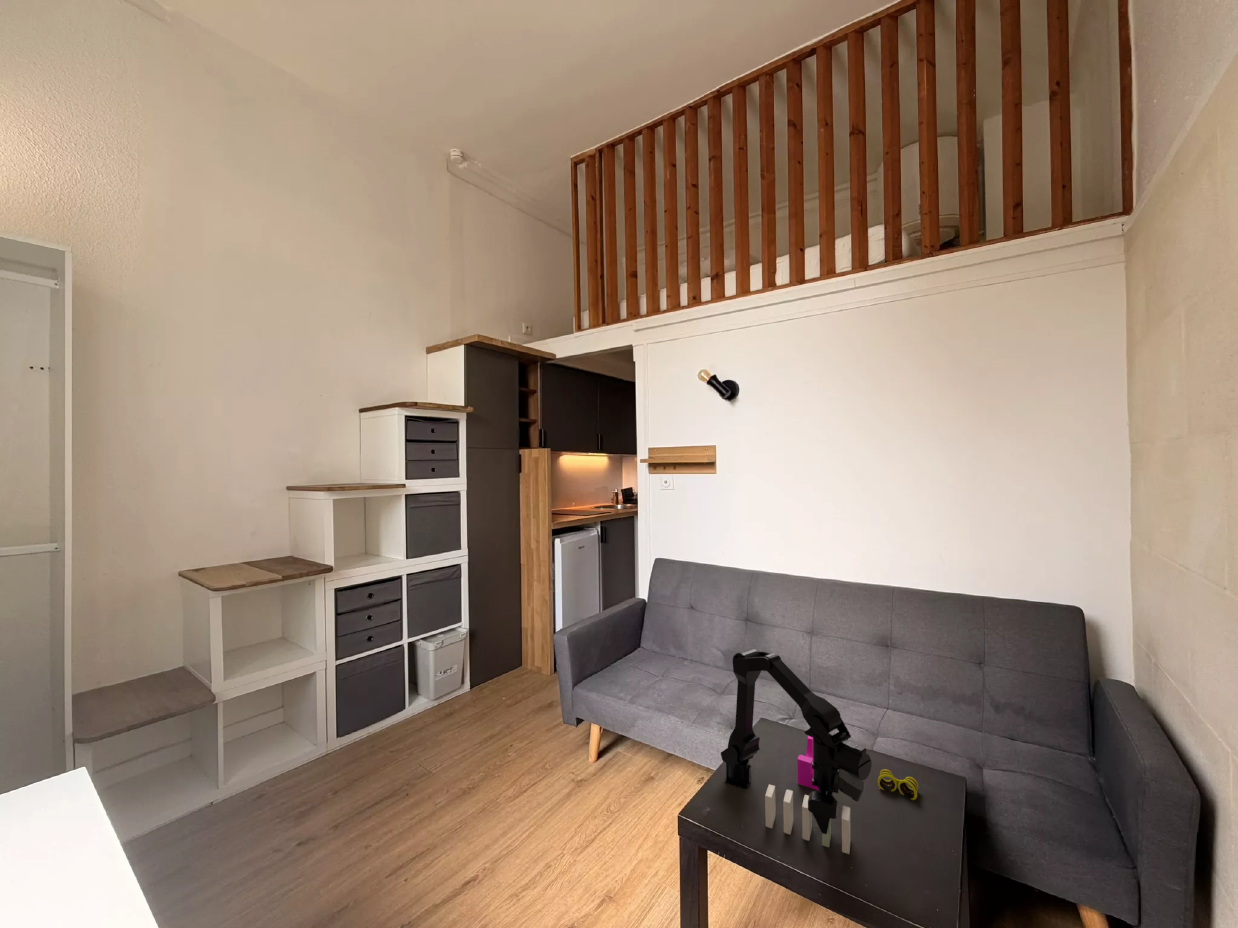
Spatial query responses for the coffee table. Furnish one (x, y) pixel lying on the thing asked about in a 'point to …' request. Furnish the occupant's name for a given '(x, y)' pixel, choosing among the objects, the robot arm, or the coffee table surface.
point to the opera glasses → (901, 783)
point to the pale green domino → (827, 836)
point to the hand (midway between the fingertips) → (826, 820)
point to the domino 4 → (846, 830)
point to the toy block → (806, 766)
